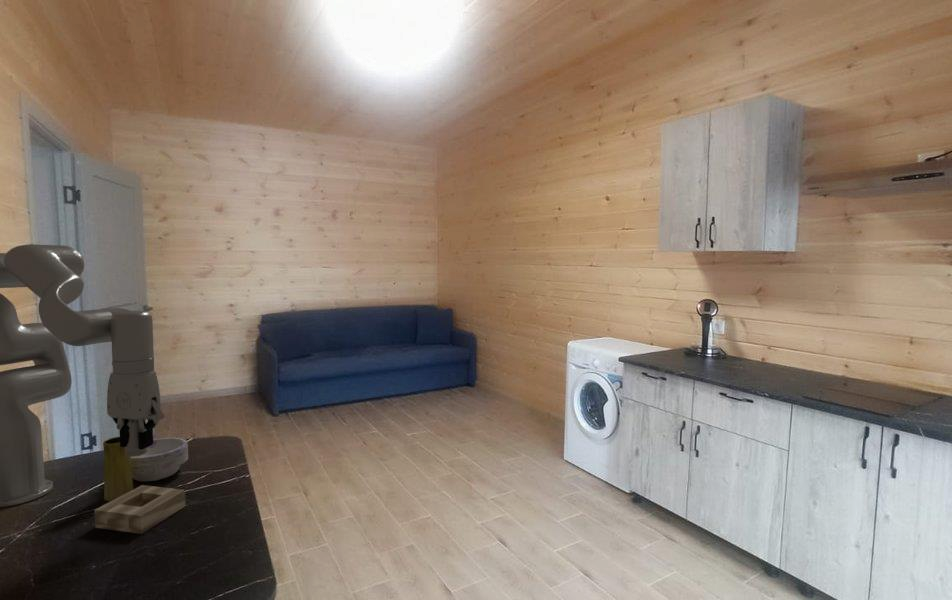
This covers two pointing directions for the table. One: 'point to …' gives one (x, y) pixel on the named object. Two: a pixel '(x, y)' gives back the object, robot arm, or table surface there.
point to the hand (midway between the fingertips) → (136, 445)
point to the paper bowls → (160, 459)
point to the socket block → (139, 509)
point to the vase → (116, 470)
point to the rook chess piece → (134, 440)
